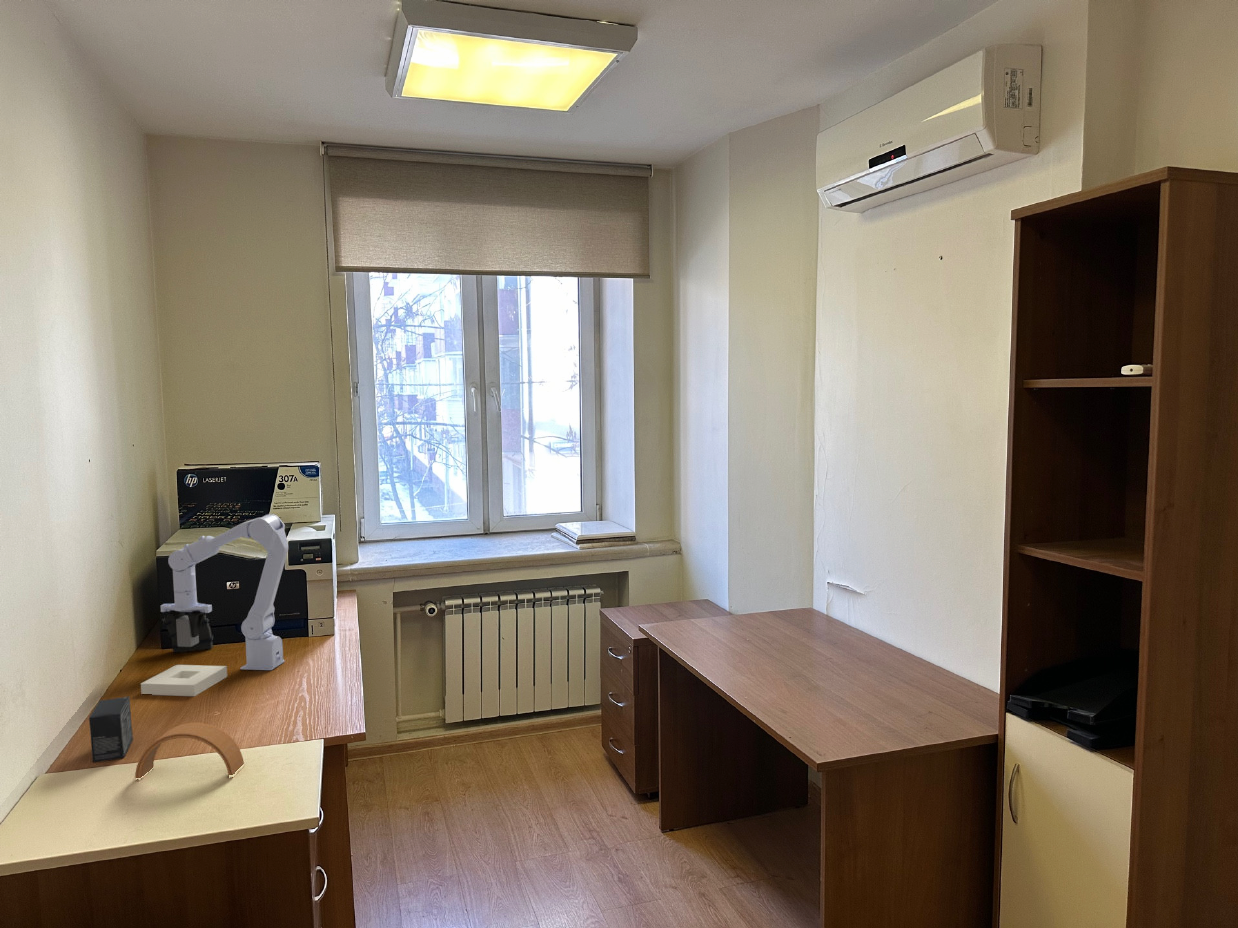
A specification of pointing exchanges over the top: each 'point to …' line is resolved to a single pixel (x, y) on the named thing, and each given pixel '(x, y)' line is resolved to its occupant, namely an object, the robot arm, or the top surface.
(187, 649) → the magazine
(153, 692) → the socket
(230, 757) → the brown half-ring arch
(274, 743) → the top surface
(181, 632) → the plug
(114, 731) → the small box
